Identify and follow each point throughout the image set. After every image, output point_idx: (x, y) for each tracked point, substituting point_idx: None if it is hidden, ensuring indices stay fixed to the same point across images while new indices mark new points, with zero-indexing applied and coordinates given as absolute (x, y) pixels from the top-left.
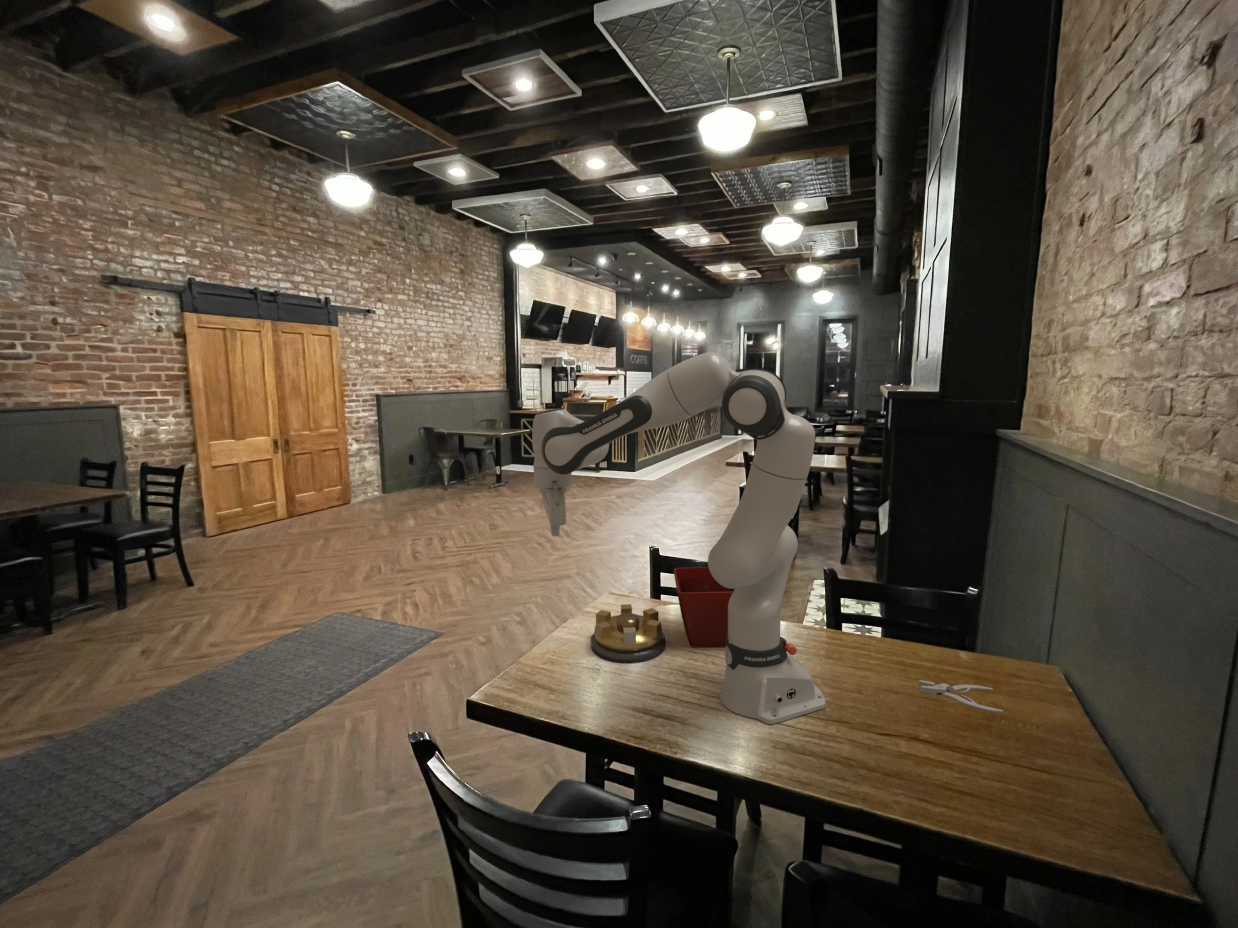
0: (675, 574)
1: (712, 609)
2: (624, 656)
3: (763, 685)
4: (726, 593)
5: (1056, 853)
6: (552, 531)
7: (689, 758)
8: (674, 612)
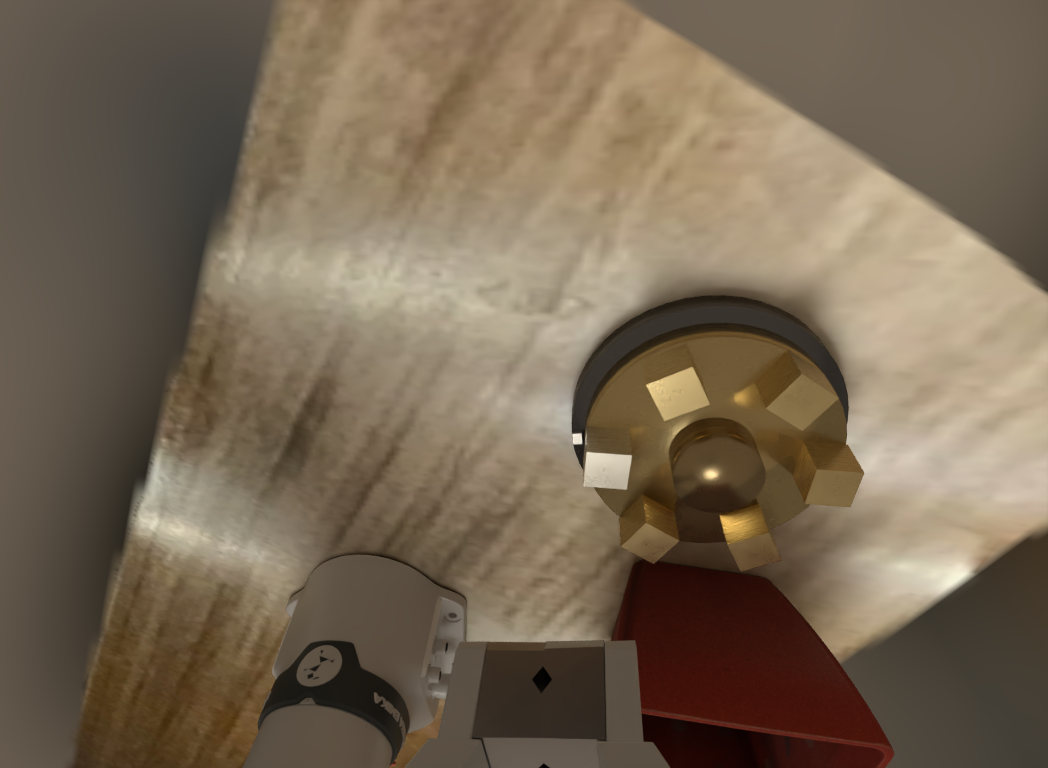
0: (812, 737)
1: None
2: (575, 401)
3: (275, 662)
4: None
5: (87, 735)
6: (445, 708)
7: (157, 456)
8: (897, 571)
